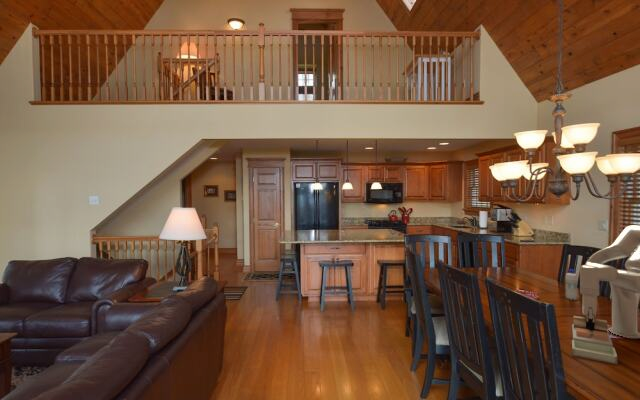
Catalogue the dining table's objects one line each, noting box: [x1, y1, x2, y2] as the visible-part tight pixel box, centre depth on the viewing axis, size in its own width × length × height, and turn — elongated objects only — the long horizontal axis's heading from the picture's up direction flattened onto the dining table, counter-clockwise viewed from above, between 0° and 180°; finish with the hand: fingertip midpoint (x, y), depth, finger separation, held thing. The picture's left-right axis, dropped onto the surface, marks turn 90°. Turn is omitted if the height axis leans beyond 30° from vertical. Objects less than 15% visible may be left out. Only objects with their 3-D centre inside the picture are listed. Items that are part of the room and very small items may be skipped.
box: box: [571, 339, 619, 365], centre depth 154 cm, size 11×15×3 cm
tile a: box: [593, 330, 608, 341], centre depth 162 cm, size 5×5×2 cm
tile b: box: [576, 328, 590, 338], centre depth 166 cm, size 5×5×2 cm
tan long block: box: [572, 315, 608, 333], centre depth 172 cm, size 3×13×5 cm, turn 56°
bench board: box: [571, 323, 614, 347], centre depth 167 cm, size 20×14×4 cm
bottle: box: [564, 268, 578, 301], centre depth 232 cm, size 7×7×20 cm
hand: (590, 328), depth 172 cm, fingers open, 3 cm apart
